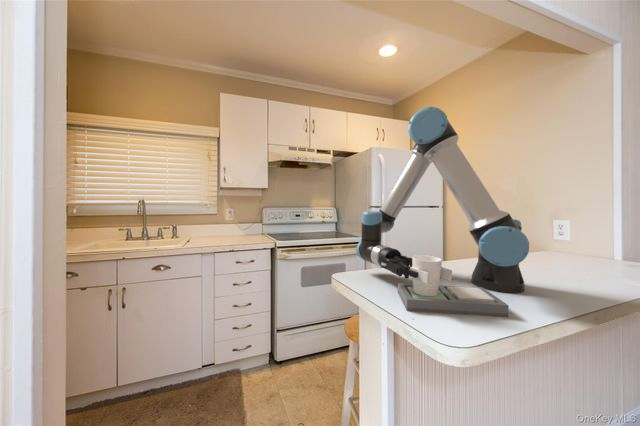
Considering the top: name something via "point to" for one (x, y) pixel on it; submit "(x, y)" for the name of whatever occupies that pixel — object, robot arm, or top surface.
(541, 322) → the top surface
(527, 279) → the top surface
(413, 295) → the sage key
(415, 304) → the grey divided tray
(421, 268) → the white cup
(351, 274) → the top surface
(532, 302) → the top surface
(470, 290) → the white square tile
